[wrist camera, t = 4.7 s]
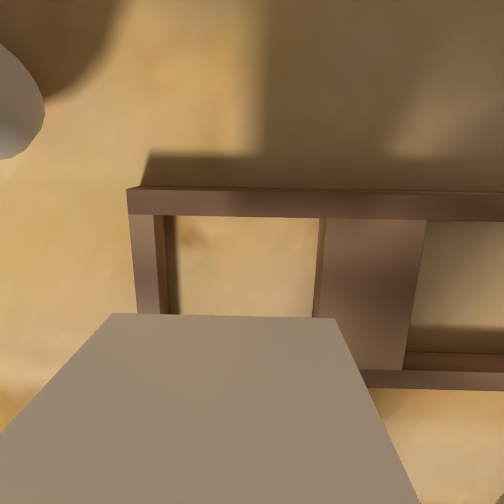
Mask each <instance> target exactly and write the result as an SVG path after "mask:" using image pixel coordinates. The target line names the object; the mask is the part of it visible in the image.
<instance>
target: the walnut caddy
mask: <svg viewBox="0 0 504 504" xmlns="http://www.w3.org/2000/svg"><path fill="white" fill-rule="evenodd" d="M126 193H127V204H128V215H129V226H130V237H131V247H132V258H133V269H134V280H135V291H136V301H137V312H138V314H170V308H169V292H168V276H167V259H166V243H165V227H164V215H183V216H234V217H285V218H320V221H319V234H318V247H317V260H316V273H315V286H314V299H313V313H312V318H335V320H336V322H337V325H338V327H339V329H340V331H341V333H342V335H343V337H344V340H345V342H346V344H347V346H348V348H349V350H350V353H351V355H352V357H353V359H354V361H355V363H356V366H357V368H358V370H359V372H360V374H361V376H362V378H363V381H364V383H365V385H366V387H367V388H400V389H437V390H473V391H504V354H470V353H431V352H405V348H406V342H407V336H408V330H409V324H410V319H411V313H412V307H413V301H414V295H415V290H416V284H417V278H418V272H419V266H420V260H421V255H422V249H423V243H424V237H425V231H426V225H427V220H438V221H489V222H504V193H503V192H448V191H393V190H339V189H284V188H230V187H175V186H137V187H133V188H129V189H126Z"/></svg>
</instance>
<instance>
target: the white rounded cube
mask: <svg viewBox="0 0 504 504" xmlns="http://www.w3.org/2000/svg"><path fill="white" fill-rule="evenodd" d="M0 504H420V501H419V499H418V497H417V495H416V493H415V491H414V489H413V486H412V484H411V482H410V480H409V478H408V476H407V473H406V471H405V469H404V467H403V465H402V463H401V460H400V458H399V456H398V454H397V452H396V450H395V448H394V445H393V443H392V441H391V439H390V437H389V435H388V432H387V430H386V428H385V426H384V424H383V422H382V419H381V417H380V415H379V413H378V411H377V409H376V407H375V404H374V402H373V400H372V398H371V396H370V394H369V391H368V389H367V387H366V385H365V383H364V381H363V378H362V376H361V374H360V372H359V370H358V368H357V366H356V363H355V361H354V359H353V357H352V355H351V353H350V350H349V348H348V346H347V344H346V342H345V340H344V337H343V335H342V333H341V331H340V329H339V327H338V325H337V322H336V320H335V318H298V317H255V316H212V315H170V314H127V313H112V314H111V315H110V316H109V317H108V319H107V320H106V321H105V322H104V323H103V324H102V325H101V326H100V327H99V328H98V329H97V330H96V331H95V333H94V334H93V335H92V336H91V337H90V338H89V339H88V340H87V341H86V342H85V343H84V344H83V345H82V347H81V348H80V349H79V350H78V351H77V352H76V353H75V354H74V355H73V356H72V357H71V358H70V359H69V361H68V362H67V363H66V364H65V365H64V366H63V367H62V368H61V369H60V370H59V371H58V372H57V374H56V375H55V376H54V377H53V378H52V379H51V380H50V381H49V382H48V383H47V384H46V385H45V386H44V388H43V389H42V390H41V391H40V392H39V393H38V394H37V395H36V396H35V397H34V398H33V399H32V400H31V402H30V403H29V404H28V405H27V406H26V407H25V408H24V409H23V410H22V411H21V412H20V413H19V414H18V416H17V417H16V418H15V419H14V420H13V421H12V422H11V423H10V424H9V425H8V426H7V427H6V429H5V430H4V431H3V432H2V433H1V434H0Z"/></svg>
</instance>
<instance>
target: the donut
mask: <svg viewBox="0 0 504 504" xmlns="http://www.w3.org/2000/svg"><path fill="white" fill-rule="evenodd" d="M44 117H45V109H44V100H43V97H42V95H41V92H40V90H39V88H38V86H37V83H36V82H35V80H34V79H33V77H32V76H31V74H30V73H29V71H28V70H27V69H26V68H25V67H24V65H23V64H22V63H21V62H20V61H19V59H18V58H17V57H16V56H15V55H13V54H12V53H11V52H10V51H9V50H7V49H6V48H5V47H4V46H3V45H2V44H0V160H2V159H8V158H12V157H14V156H16V155H17V154H19V153H21V152H22V151H24V150H26V148H27V147H28V146H29V144H30V143H31V142H32V140H33V139H34V138H35V136H36V135H37V134H38V132H39V131H40V130H41V128H42V124H43V121H44Z"/></svg>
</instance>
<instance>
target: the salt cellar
mask: <svg viewBox="0 0 504 504" xmlns="http://www.w3.org/2000/svg"><path fill="white" fill-rule="evenodd" d="M496 504H504V494H503V495H502V496H501V497H500V498H499V499H498V501H497V502H496Z"/></svg>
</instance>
